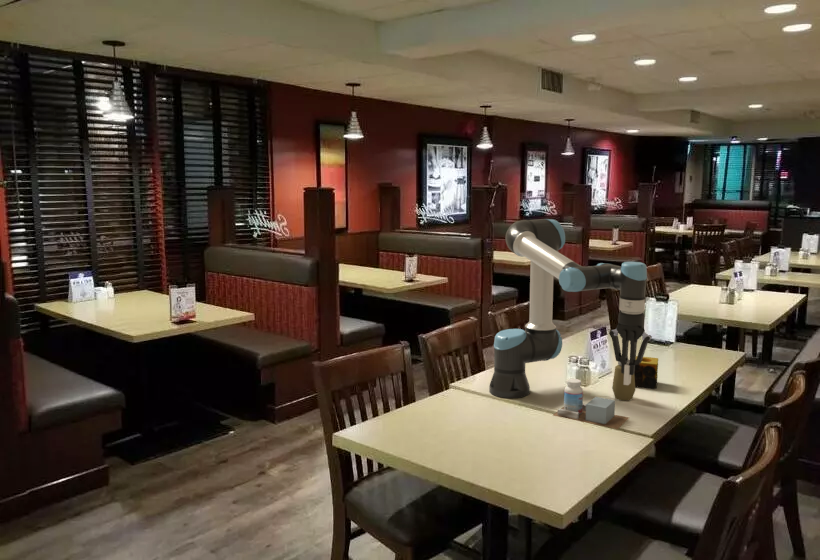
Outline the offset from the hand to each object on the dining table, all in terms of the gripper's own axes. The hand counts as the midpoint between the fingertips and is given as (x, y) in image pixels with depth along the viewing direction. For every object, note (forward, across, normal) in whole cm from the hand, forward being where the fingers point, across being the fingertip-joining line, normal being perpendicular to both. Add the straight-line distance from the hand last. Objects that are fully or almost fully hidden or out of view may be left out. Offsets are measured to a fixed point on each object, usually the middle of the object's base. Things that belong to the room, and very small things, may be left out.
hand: (627, 383), depth 207 cm
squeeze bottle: (+16, -9, +28) cm, 33 cm away
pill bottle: (+14, -17, 0) cm, 22 cm away
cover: (+13, -8, 0) cm, 15 cm away
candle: (+16, -8, +48) cm, 52 cm away
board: (+15, -11, 0) cm, 19 cm away
